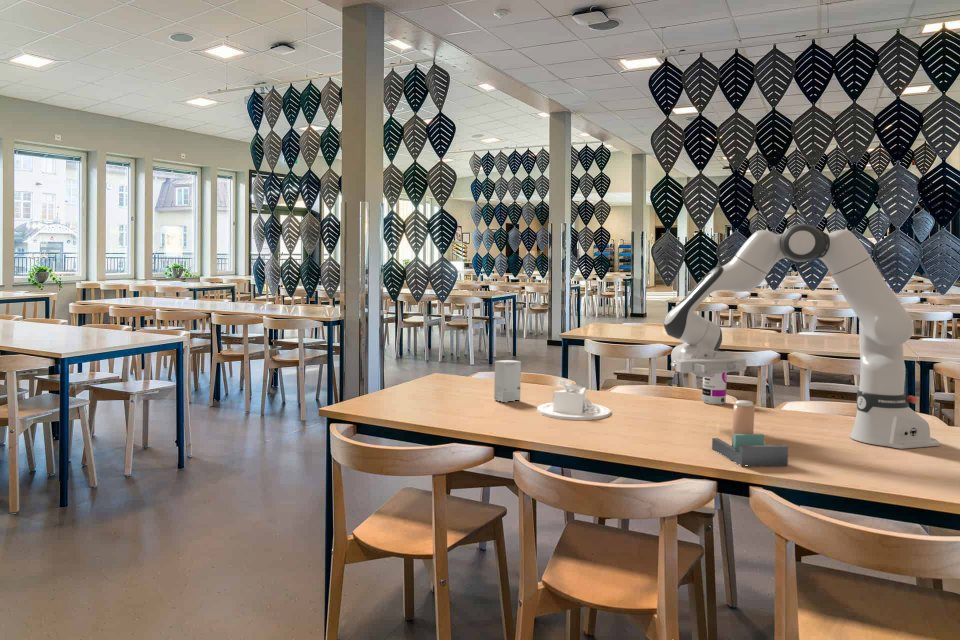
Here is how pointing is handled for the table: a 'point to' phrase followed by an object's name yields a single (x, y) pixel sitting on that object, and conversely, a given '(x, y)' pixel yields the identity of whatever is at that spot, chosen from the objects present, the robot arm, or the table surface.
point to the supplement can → (714, 389)
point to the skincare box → (507, 380)
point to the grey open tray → (753, 453)
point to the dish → (572, 405)
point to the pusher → (747, 440)
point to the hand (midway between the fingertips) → (722, 368)
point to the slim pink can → (743, 417)
